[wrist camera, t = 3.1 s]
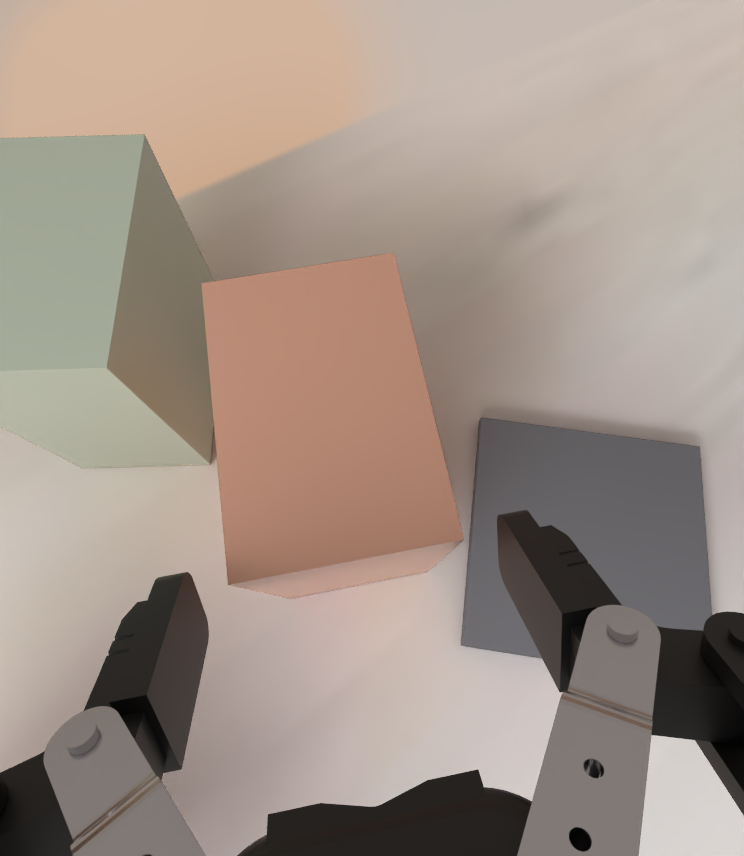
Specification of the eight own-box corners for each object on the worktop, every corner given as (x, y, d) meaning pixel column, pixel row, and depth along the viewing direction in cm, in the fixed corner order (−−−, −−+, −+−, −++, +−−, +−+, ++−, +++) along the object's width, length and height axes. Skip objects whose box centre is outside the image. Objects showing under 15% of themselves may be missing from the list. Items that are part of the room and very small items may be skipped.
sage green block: (210, 464, 24) (106, 368, 15) (81, 468, 24) (-104, 373, 15) (223, 300, 27) (144, 134, 18) (109, 303, 27) (-29, 138, 18)
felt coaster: (460, 645, 22) (463, 645, 21) (479, 422, 25) (481, 417, 24) (707, 684, 21) (716, 686, 20) (692, 450, 24) (699, 446, 24)
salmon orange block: (427, 572, 23) (464, 539, 13) (290, 598, 22) (228, 584, 13) (386, 386, 26) (393, 252, 16) (266, 407, 25) (201, 283, 16)
